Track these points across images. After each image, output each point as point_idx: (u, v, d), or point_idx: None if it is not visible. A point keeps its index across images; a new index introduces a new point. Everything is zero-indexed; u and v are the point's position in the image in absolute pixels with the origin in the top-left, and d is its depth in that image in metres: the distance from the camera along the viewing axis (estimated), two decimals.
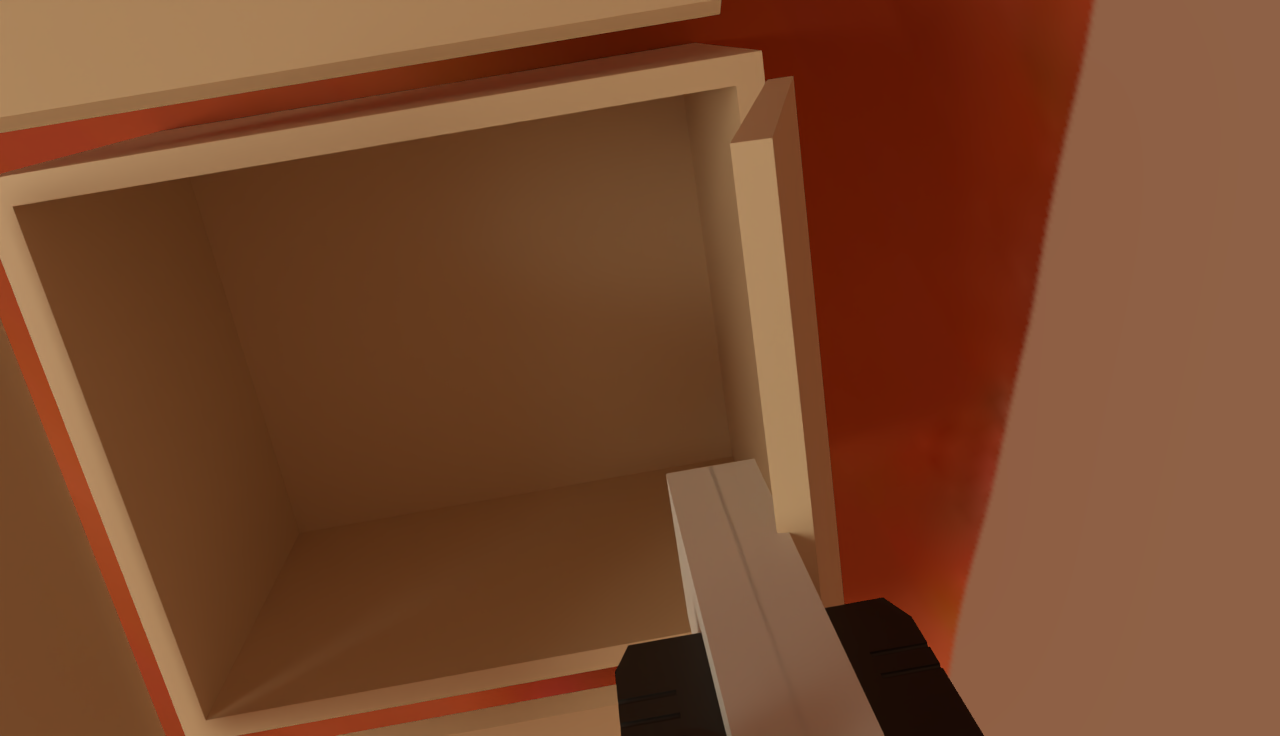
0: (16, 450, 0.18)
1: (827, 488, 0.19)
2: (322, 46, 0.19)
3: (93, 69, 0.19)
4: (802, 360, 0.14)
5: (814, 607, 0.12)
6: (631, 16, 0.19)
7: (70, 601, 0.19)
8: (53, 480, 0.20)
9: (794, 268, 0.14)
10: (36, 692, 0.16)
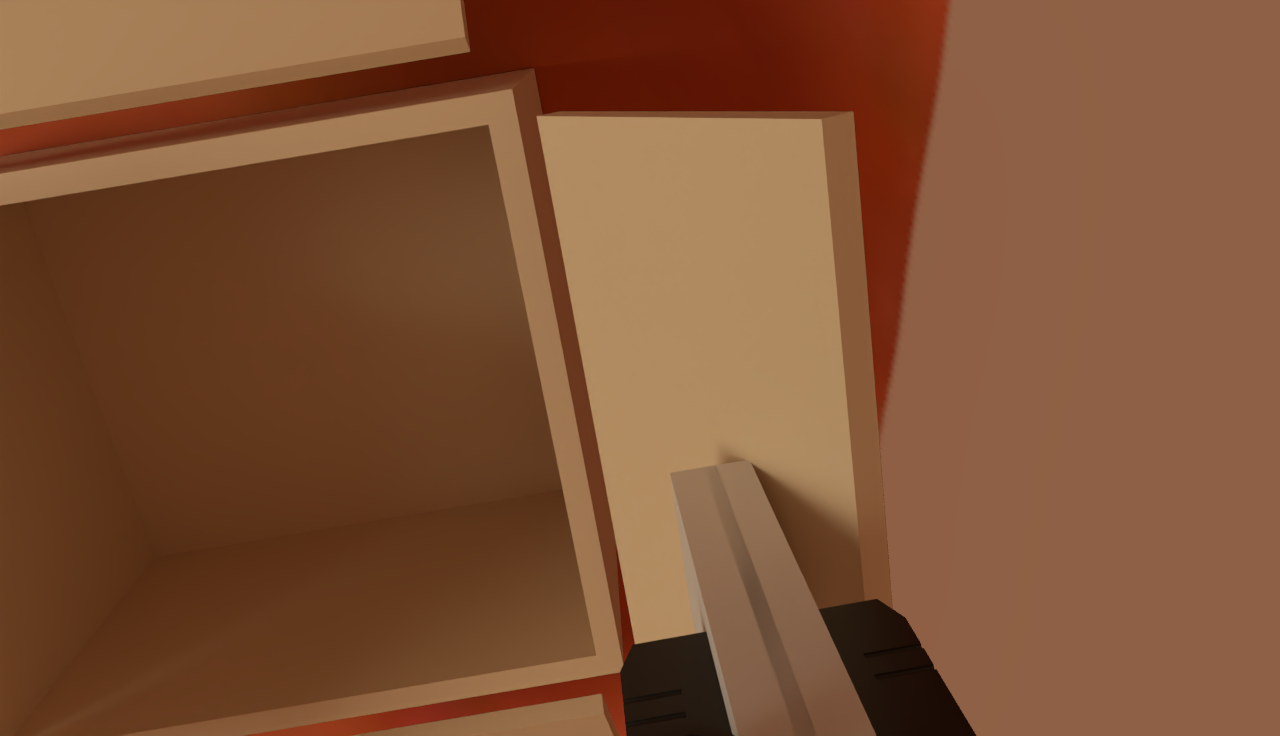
0: None
1: None
2: (59, 85, 0.19)
3: None
4: None
5: (808, 608, 0.12)
6: (374, 55, 0.19)
7: None
8: None
9: None
10: None
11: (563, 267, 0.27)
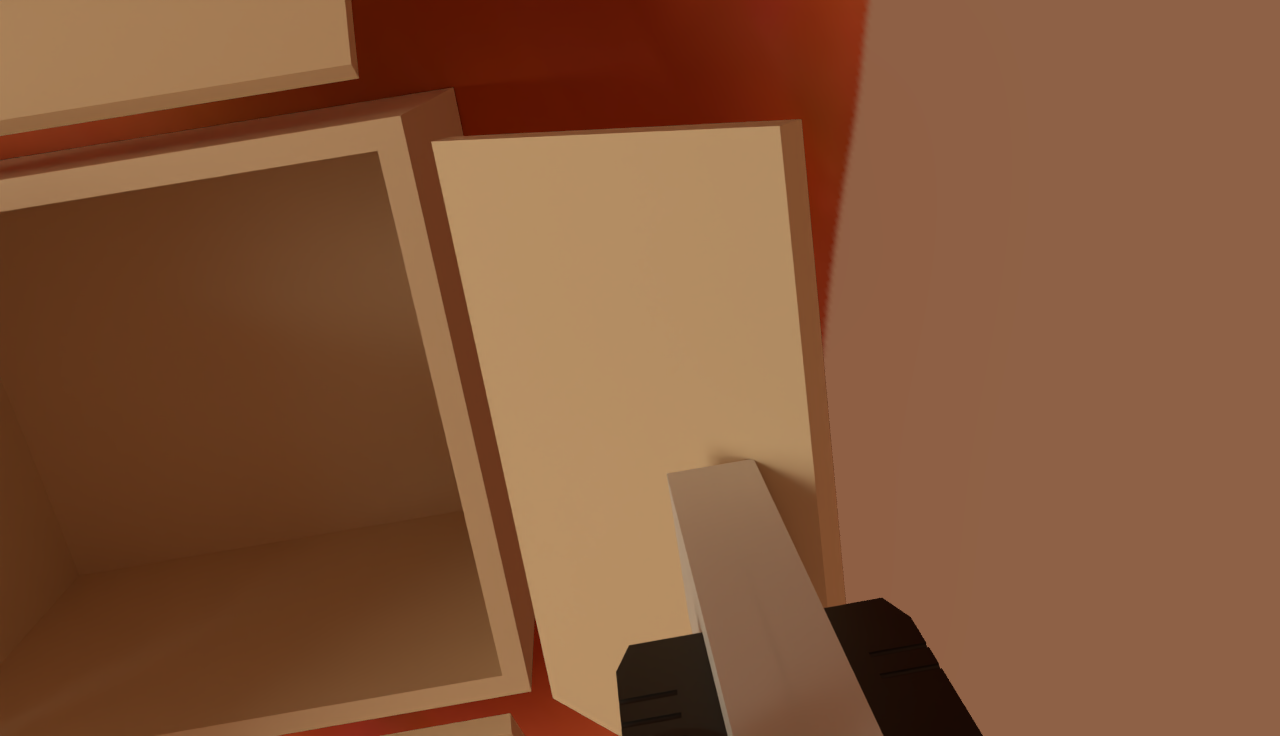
0: None
1: None
2: None
3: None
4: None
5: (813, 607, 0.12)
6: (261, 82, 0.19)
7: None
8: None
9: None
10: None
11: None
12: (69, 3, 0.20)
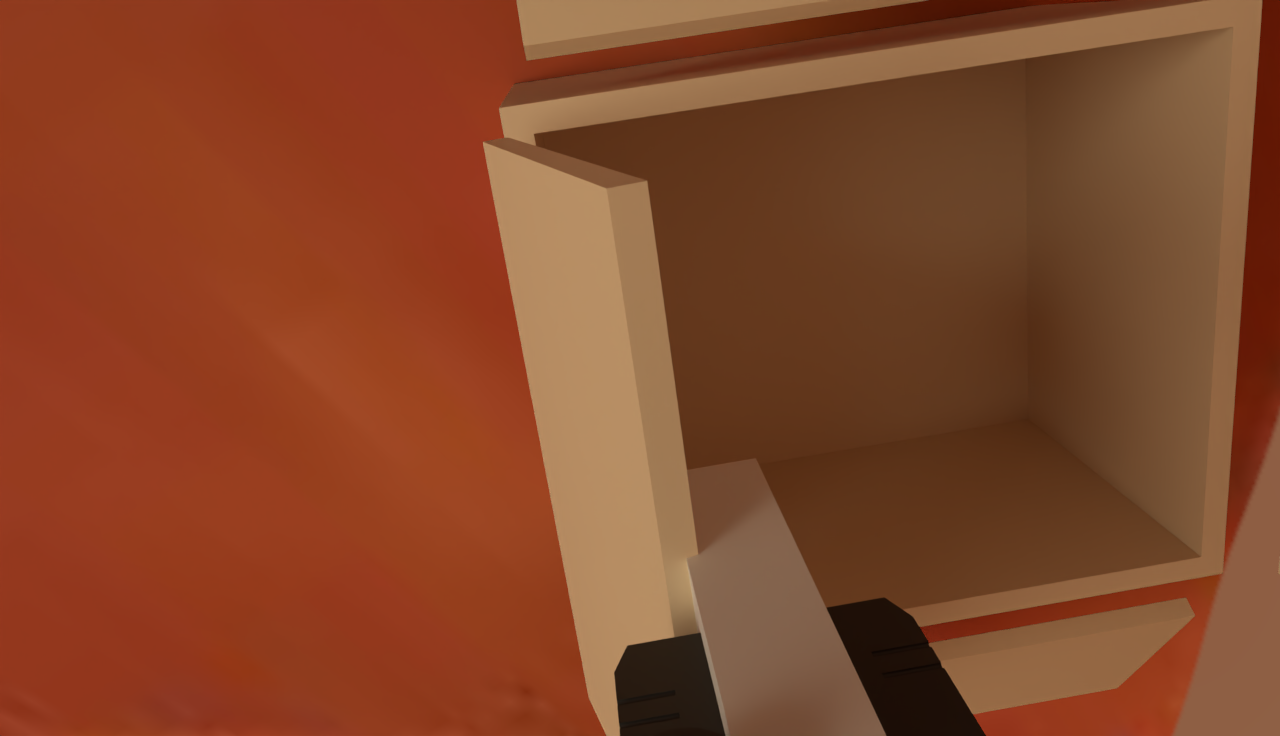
0: None
1: None
2: None
3: None
4: None
5: (816, 607, 0.12)
6: None
7: None
8: None
9: None
10: None
11: None
12: None
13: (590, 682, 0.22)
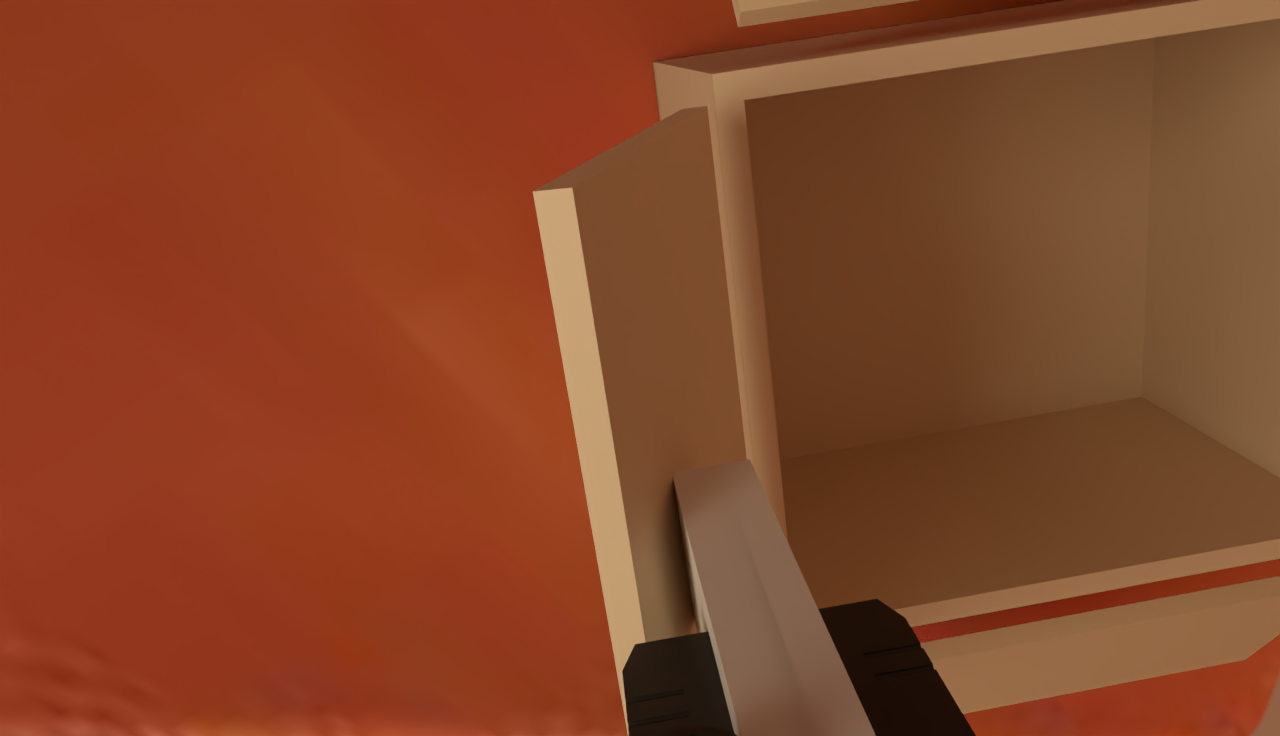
0: (712, 346, 0.18)
1: None
2: None
3: None
4: None
5: (807, 608, 0.12)
6: None
7: None
8: (731, 379, 0.20)
9: None
10: None
11: None
12: None
13: None
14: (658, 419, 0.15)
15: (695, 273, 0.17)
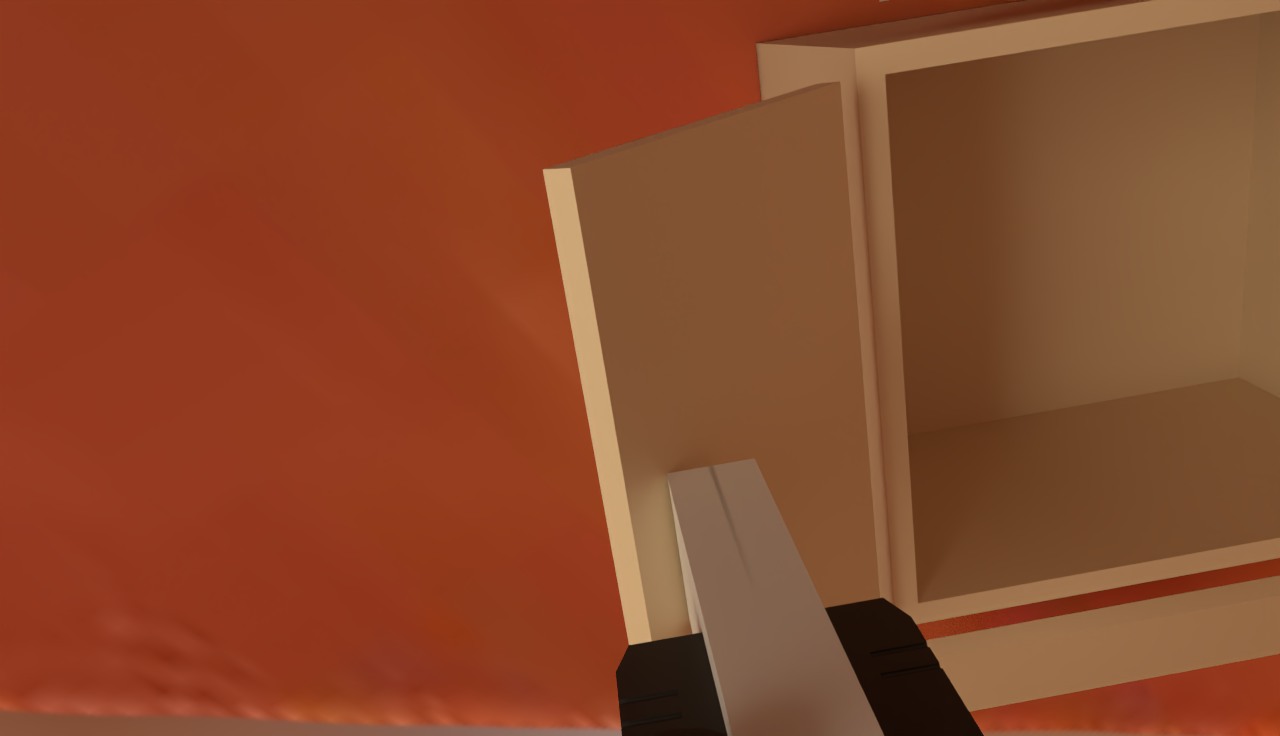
0: (813, 319, 0.19)
1: None
2: None
3: None
4: None
5: (814, 607, 0.12)
6: None
7: (817, 471, 0.20)
8: (847, 353, 0.20)
9: None
10: None
11: None
12: None
13: None
14: (694, 381, 0.16)
15: (788, 247, 0.18)
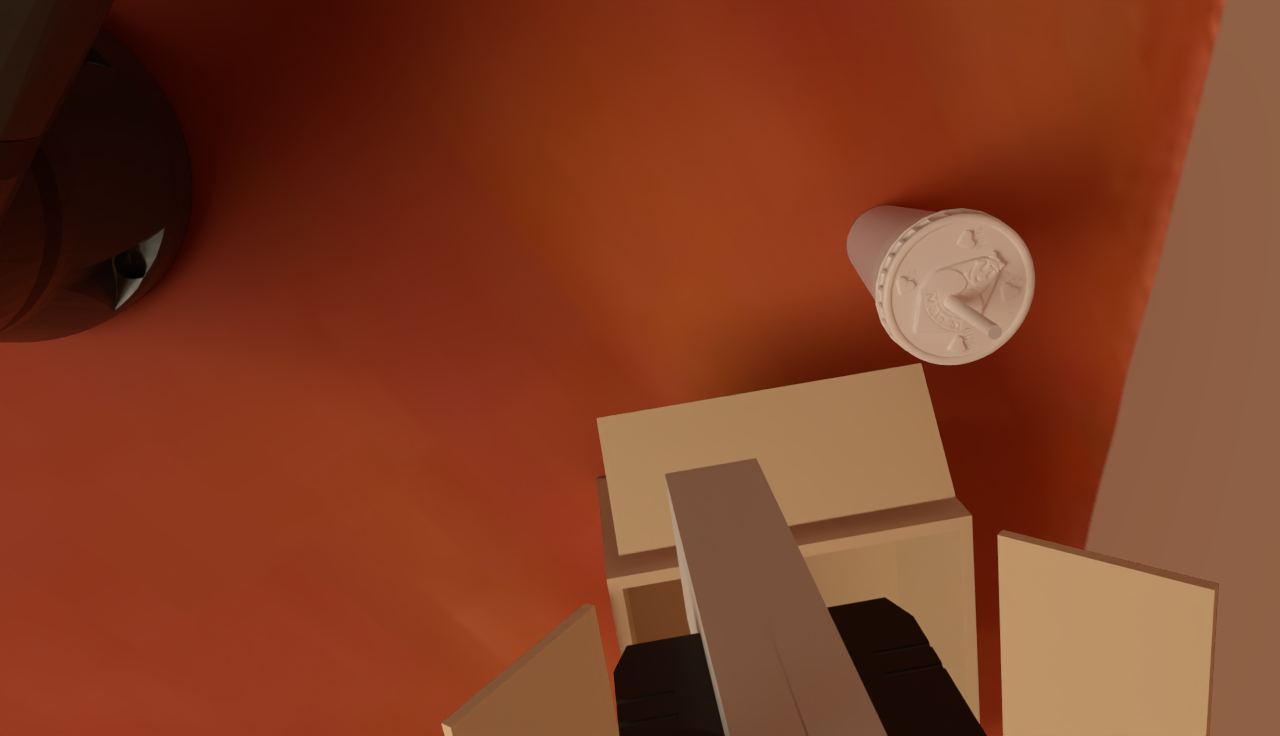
0: (581, 716, 0.41)
1: None
2: None
3: (665, 529, 0.42)
4: None
5: (816, 607, 0.12)
6: (913, 503, 0.42)
7: None
8: (605, 720, 0.42)
9: None
10: None
11: None
12: (818, 463, 0.42)
13: None
14: None
15: (564, 694, 0.40)
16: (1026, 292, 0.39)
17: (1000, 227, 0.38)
